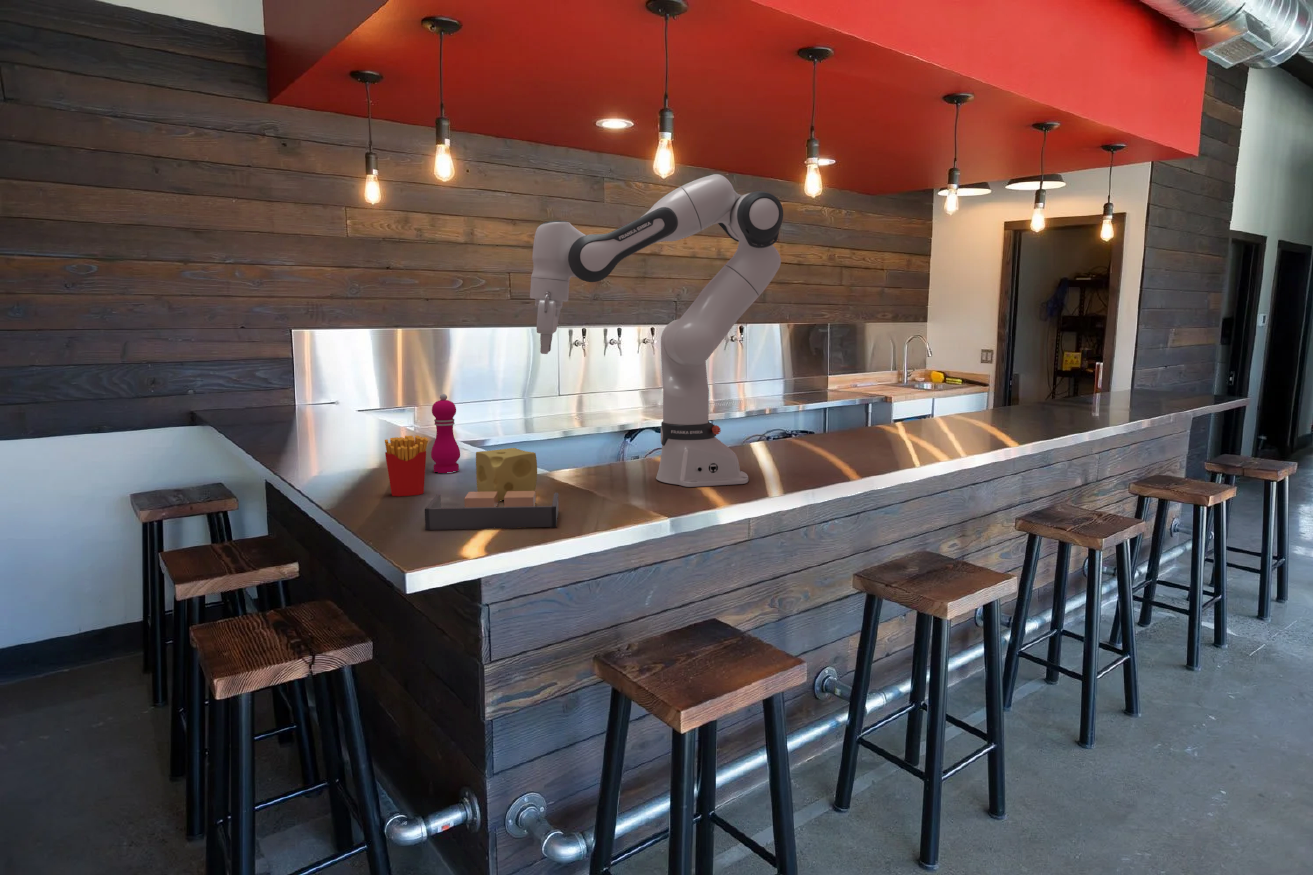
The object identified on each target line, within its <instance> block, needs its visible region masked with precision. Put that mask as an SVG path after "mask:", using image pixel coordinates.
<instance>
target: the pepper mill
mask: <svg viewBox="0 0 1313 875" xmlns="http://www.w3.org/2000/svg"><path fill="white" fill-rule="evenodd" d="M439 399H440V400H437V401H435V402H434V403H433V405H432V406H431V414H432V416H433V417H434V418H435V419H434V421H433V422H434V423H433V424H434V425H435V429H436V433H435V434H436V435H435V440H434V443H433V445H432V447H431V452H430V453H431V454H430V457H431V460H432V461H433V462H434V463H435V464H433V473H435V472H438V473H437V474H439V473H447V472H453V471H458V470H459V471H460V467H459V466H460V465H459V463H457V462H458V461H459V459H460V457H461V450H460V447H459V445H458V443H457V441H456V438H455V434H454V425H455V418H454V417H455V415H456V414H457V407H456V405H455V403H454V402H453V401H451V400H450V399H449V400H448V395H447V394H445V393H441V394H440V395H439ZM459 471H458V472H459Z"/></svg>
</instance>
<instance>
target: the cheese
mask: <svg viewBox="0 0 1313 875" xmlns="http://www.w3.org/2000/svg"><path fill="white" fill-rule="evenodd" d="M537 462H538V460H537V454H536V452H533V451H527V450H522V449H520V448H517V447H510V448H507V447H506V448H501V449H494V450H492V449H491V450H483V451H482V450H481V451H476V452H475V471H476V472H475V474H476V490H477V491H476V492H495V491H498V501H500V500H504V497H505V495H506V493H507V491H536V487H537V481H538V480H537V479H538V463H537Z"/></svg>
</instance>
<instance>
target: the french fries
mask: <svg viewBox="0 0 1313 875" xmlns="http://www.w3.org/2000/svg"><path fill="white" fill-rule="evenodd" d="M389 439H390V440H388V439H384V444H385V448H386V449H385V450H386V451H385V452H384V454H385V460H386V467H387V474H388V479H389V480H388V481H389V486H390V492H391V497H408V496H420V495H423V493H424V492H425V480H426V478H425V477H426V459H427V458H426V457H427V451H426V450H427V446H428V442H429V440H428V438H427V437H426V436H424V437H423V436H420V435H415V436H413V435H404V437H401V436H400V437H397V436H395V437H390V438H389ZM389 441H390V442H389Z"/></svg>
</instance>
